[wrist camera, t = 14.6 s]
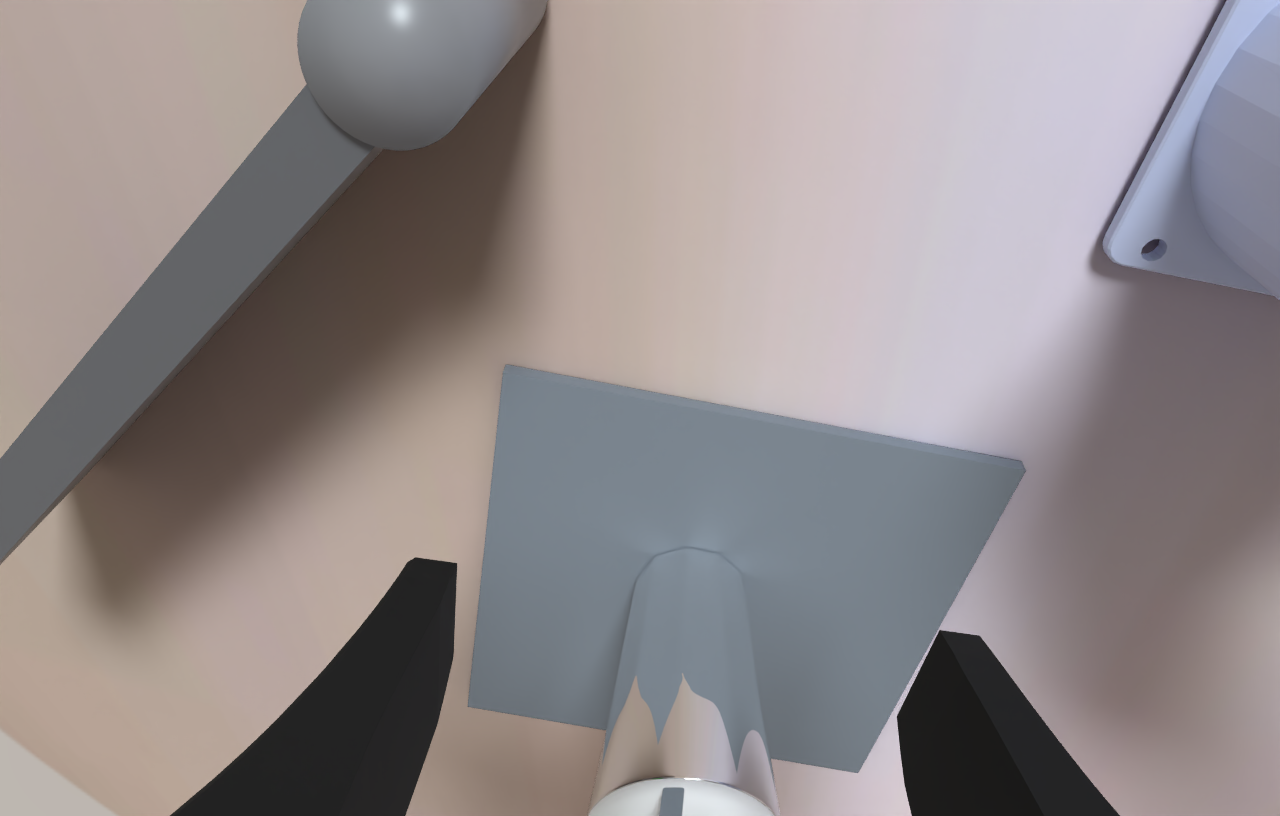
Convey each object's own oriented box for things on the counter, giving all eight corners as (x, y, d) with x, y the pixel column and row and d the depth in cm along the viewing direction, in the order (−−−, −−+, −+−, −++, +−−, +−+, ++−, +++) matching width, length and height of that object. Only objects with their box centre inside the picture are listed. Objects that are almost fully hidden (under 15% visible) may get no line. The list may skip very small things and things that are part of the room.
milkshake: (762, 504, 24) (789, 857, 16) (769, 635, 27) (793, 991, 19) (602, 511, 25) (547, 856, 17) (625, 639, 28) (588, 986, 19)
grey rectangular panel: (572, -10, 17) (509, 69, 12) (104, 487, 26) (-61, 669, 20) (482, -114, 16) (368, -80, 11) (27, 437, 25) (-167, 612, 19)
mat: (1021, 461, 23) (1026, 470, 23) (856, 763, 31) (858, 773, 31) (506, 363, 23) (503, 372, 22) (470, 697, 31) (467, 706, 30)
